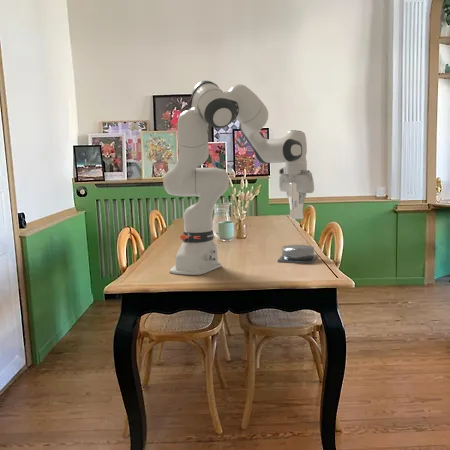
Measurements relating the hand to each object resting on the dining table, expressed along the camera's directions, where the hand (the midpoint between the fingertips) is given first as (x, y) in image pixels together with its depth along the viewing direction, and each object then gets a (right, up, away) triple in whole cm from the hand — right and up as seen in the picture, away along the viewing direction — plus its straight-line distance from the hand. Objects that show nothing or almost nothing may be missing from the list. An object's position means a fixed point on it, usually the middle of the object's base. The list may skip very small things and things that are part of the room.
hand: (296, 203), depth 205 cm
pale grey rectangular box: (0, -7, +1) cm, 7 cm away
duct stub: (0, -23, -3) cm, 24 cm away
